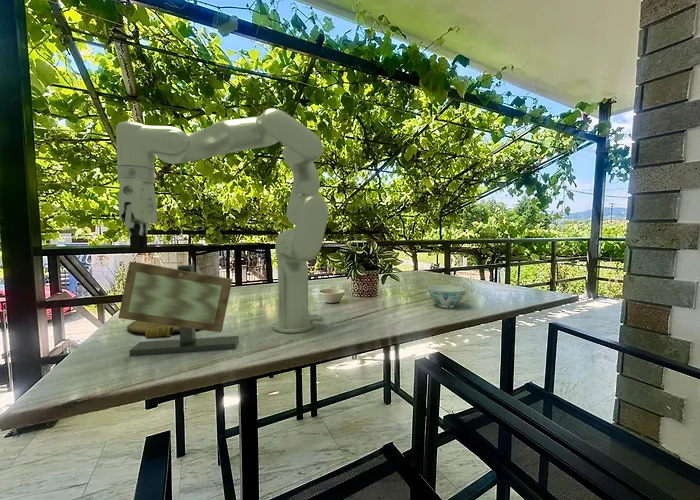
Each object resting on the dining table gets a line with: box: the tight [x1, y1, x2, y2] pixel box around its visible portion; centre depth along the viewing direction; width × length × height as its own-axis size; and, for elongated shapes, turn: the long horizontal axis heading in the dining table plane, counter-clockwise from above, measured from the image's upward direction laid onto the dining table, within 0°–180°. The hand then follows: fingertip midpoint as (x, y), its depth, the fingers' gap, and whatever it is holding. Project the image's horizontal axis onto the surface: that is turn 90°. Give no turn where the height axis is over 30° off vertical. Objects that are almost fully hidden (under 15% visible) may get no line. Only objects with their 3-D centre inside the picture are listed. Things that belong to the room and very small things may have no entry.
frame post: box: [128, 264, 240, 357], centre depth 83 cm, size 25×6×22 cm, turn 102°
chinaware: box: [427, 284, 467, 307], centre depth 131 cm, size 15×15×8 cm
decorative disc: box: [127, 320, 180, 339], centre depth 106 cm, size 29×3×30 cm
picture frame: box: [117, 261, 233, 333], centre depth 80 cm, size 24×2×14 cm, turn 101°
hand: (139, 251), depth 78 cm, fingers closed
